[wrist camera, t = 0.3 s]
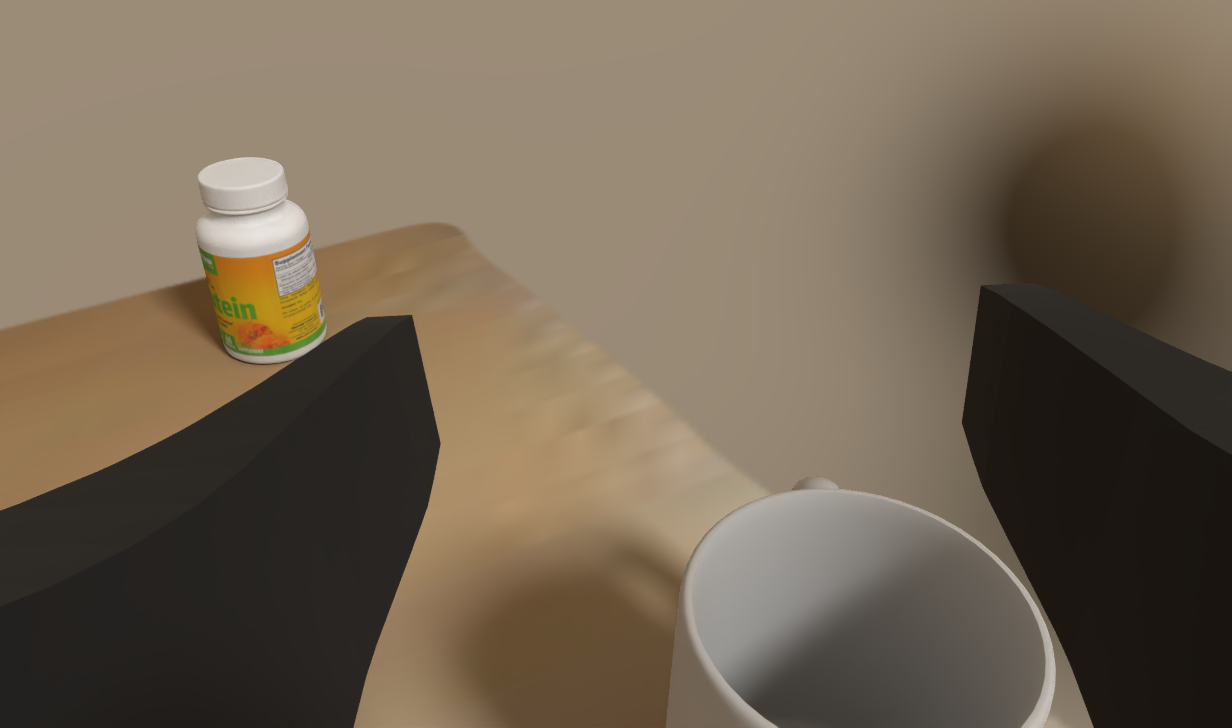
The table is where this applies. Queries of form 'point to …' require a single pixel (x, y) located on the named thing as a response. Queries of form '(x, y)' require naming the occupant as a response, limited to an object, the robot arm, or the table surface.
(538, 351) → the table surface
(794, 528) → the mug
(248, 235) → the supplement bottle
